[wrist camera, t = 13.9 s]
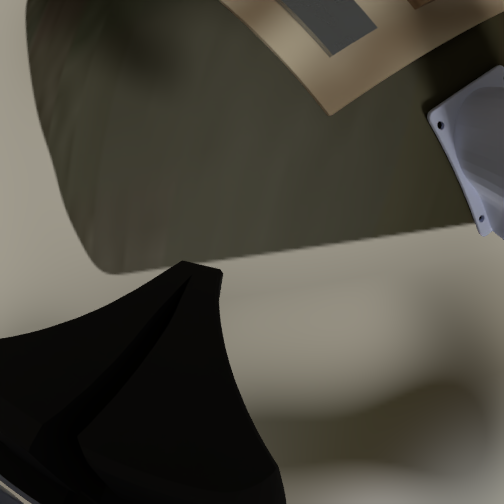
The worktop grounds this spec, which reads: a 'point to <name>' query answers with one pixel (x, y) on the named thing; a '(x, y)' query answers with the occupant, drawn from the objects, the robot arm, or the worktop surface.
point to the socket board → (361, 41)
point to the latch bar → (330, 21)
